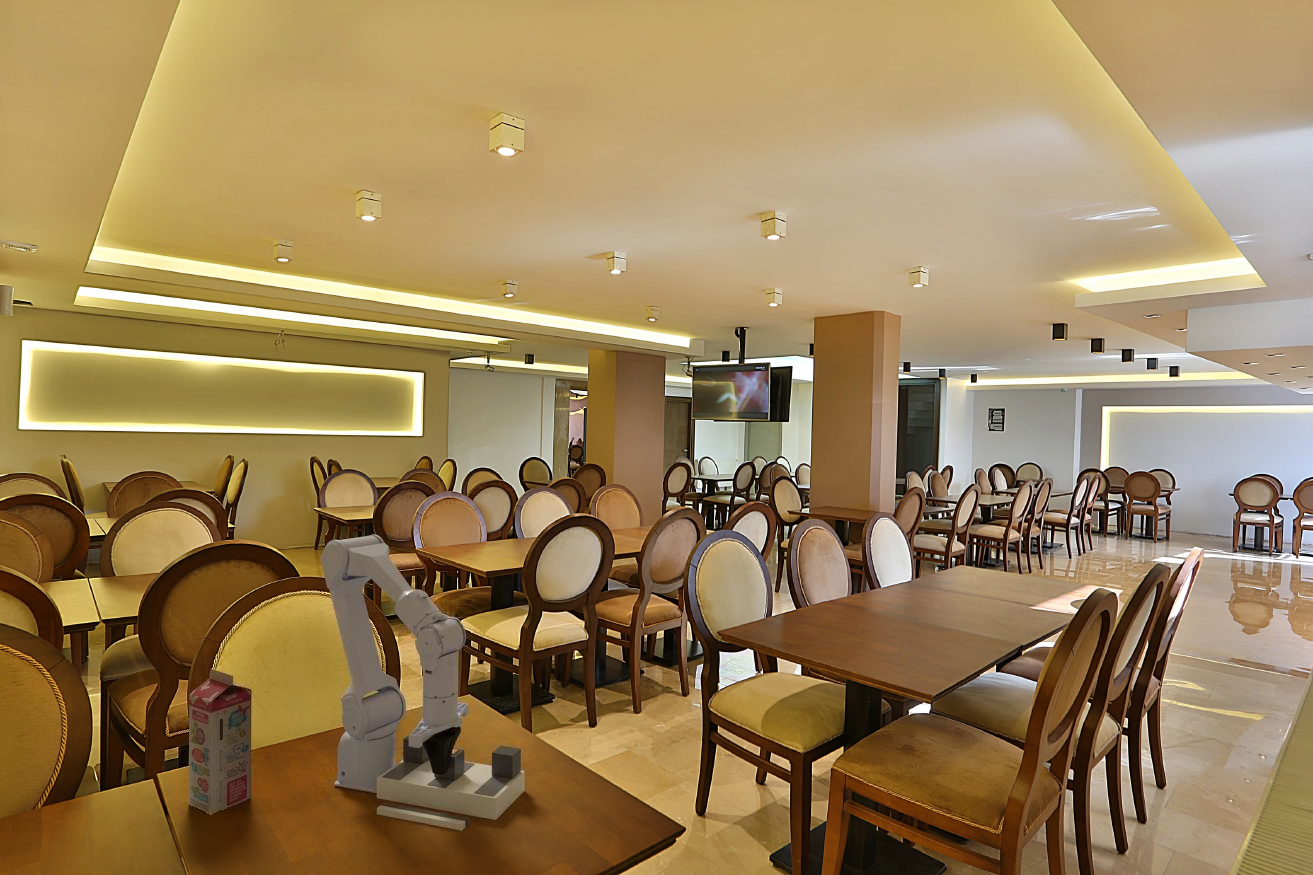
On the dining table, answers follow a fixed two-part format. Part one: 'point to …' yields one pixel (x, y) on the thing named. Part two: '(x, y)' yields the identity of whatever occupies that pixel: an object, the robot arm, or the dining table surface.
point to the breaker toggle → (454, 766)
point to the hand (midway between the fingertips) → (439, 772)
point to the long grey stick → (423, 816)
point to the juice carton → (219, 743)
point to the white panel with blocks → (455, 783)
